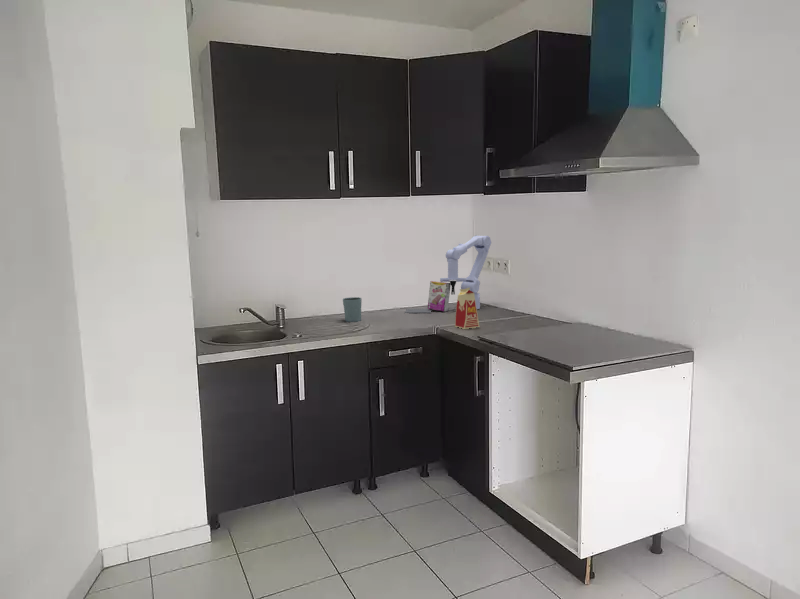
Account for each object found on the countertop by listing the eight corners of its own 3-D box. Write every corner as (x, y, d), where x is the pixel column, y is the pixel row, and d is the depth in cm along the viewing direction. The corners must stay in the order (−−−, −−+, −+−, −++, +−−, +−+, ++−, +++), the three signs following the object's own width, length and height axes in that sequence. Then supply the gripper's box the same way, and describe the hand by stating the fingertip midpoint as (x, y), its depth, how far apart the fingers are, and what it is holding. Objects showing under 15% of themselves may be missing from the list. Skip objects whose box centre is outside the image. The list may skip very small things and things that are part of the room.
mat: (431, 309, 345) (431, 308, 344) (431, 313, 332) (431, 312, 332) (406, 309, 346) (406, 308, 346) (404, 313, 333) (404, 312, 333)
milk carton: (479, 327, 288) (479, 287, 285) (464, 329, 283) (464, 288, 280) (468, 324, 296) (468, 285, 293) (453, 326, 291) (453, 286, 288)
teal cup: (357, 322, 309) (356, 300, 307) (340, 321, 312) (339, 299, 310) (365, 319, 318) (364, 297, 316) (348, 318, 321) (347, 296, 320)
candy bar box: (426, 309, 339) (429, 280, 338) (431, 308, 343) (434, 281, 342) (444, 311, 333) (447, 282, 332) (448, 311, 337) (451, 283, 336)
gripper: (440, 271, 330) (440, 295, 332) (466, 271, 329) (465, 295, 331) (440, 270, 337) (440, 293, 339) (465, 270, 336) (465, 293, 338)
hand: (452, 294), depth 335 cm, fingers closed
